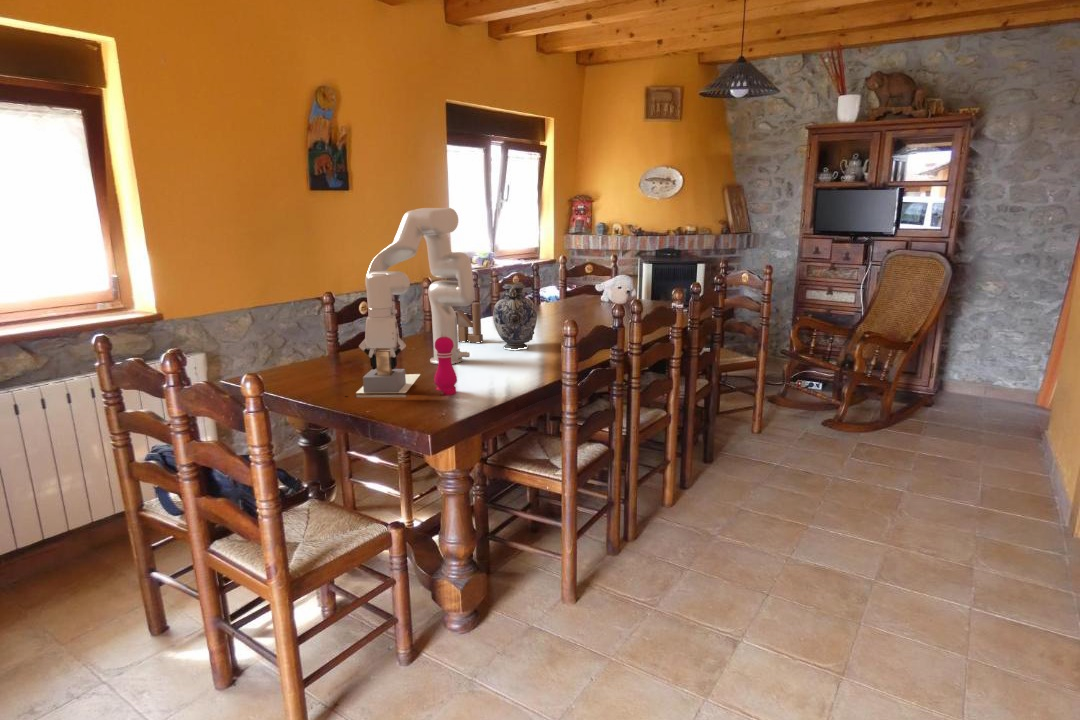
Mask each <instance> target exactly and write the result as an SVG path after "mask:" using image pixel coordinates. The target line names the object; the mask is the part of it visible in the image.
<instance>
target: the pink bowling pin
mask: <svg viewBox="0 0 1080 720" xmlns="http://www.w3.org/2000/svg"><path fill="white" fill-rule="evenodd" d="M446 336H447V334H446V333H445V332H442V333H441V337H440V338H438V339H437V340H436V341H435V349H436V350H437V351H438V352H437V357H438V364H437V369H436V371H435V374H434V380H433V381H434V383H435V385H436V386H437V387H436V390H437V391H439V392H443V393H442V394H441V396H452V395H454V394H456V392H457V387H456V383H457V382H458V379H457V378H458V376H457V374H456V371H455V369H454V367H453V364H452V363H451V357H452V356H453V355H452V352H451V350H452V349H453V347H454V344H453V341H452V339H450V338H449V337H446Z"/></svg>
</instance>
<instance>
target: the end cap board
mask: <svg viewBox="0 0 1080 720" xmlns="http://www.w3.org/2000/svg"><path fill="white" fill-rule="evenodd" d="M420 376H421V373H413V374H412V373H409V374H407V373H406V369H405V368H395V369H392V375H377V368H376V369H374V370H373V369H370V370H369V371H368V372H367V373H365V375H364V376H363V377H362V384H363V385H362V386H361V387H360V388H359V389H358V390H357V391H356V392H355V398H356V399H358V398H361V399H362V398H363V399H364V398H368V399H369V398H372V399H373V398H374V399H375V398H407V397H408V395H409V394H406V393H407V392H408V391H409V390H410V388H411V387H413V384H414V383H415V382H416V381H417V380H418V378H419V377H420Z"/></svg>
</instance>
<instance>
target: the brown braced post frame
mask: <svg viewBox="0 0 1080 720" xmlns="http://www.w3.org/2000/svg"><path fill="white" fill-rule="evenodd" d="M471 306H472V307H471V308H472V309H471V310H472V321H471V319H470V318H469V317H468V316H467V315H466V314H465V313H464V312H463V310H461V309H460V310H457V312H456V316H457V334H458V342H459V341H467V340H468V341H470V342H481V341H483V342H484V337H483V336H484V335H483V334H482V322H481V321H482V320H481V319H482V318H481V316H482V315H481V314H482V313H481V302H472V303H471ZM469 328H472V333H469Z"/></svg>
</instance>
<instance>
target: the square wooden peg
mask: <svg viewBox="0 0 1080 720" xmlns="http://www.w3.org/2000/svg"><path fill="white" fill-rule="evenodd" d="M375 355H376V360H377V368H376V369H377V375H392V369H391V357H392V354H391V352H390V350H389V349H379V350H378V349H377V351H375Z"/></svg>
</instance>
